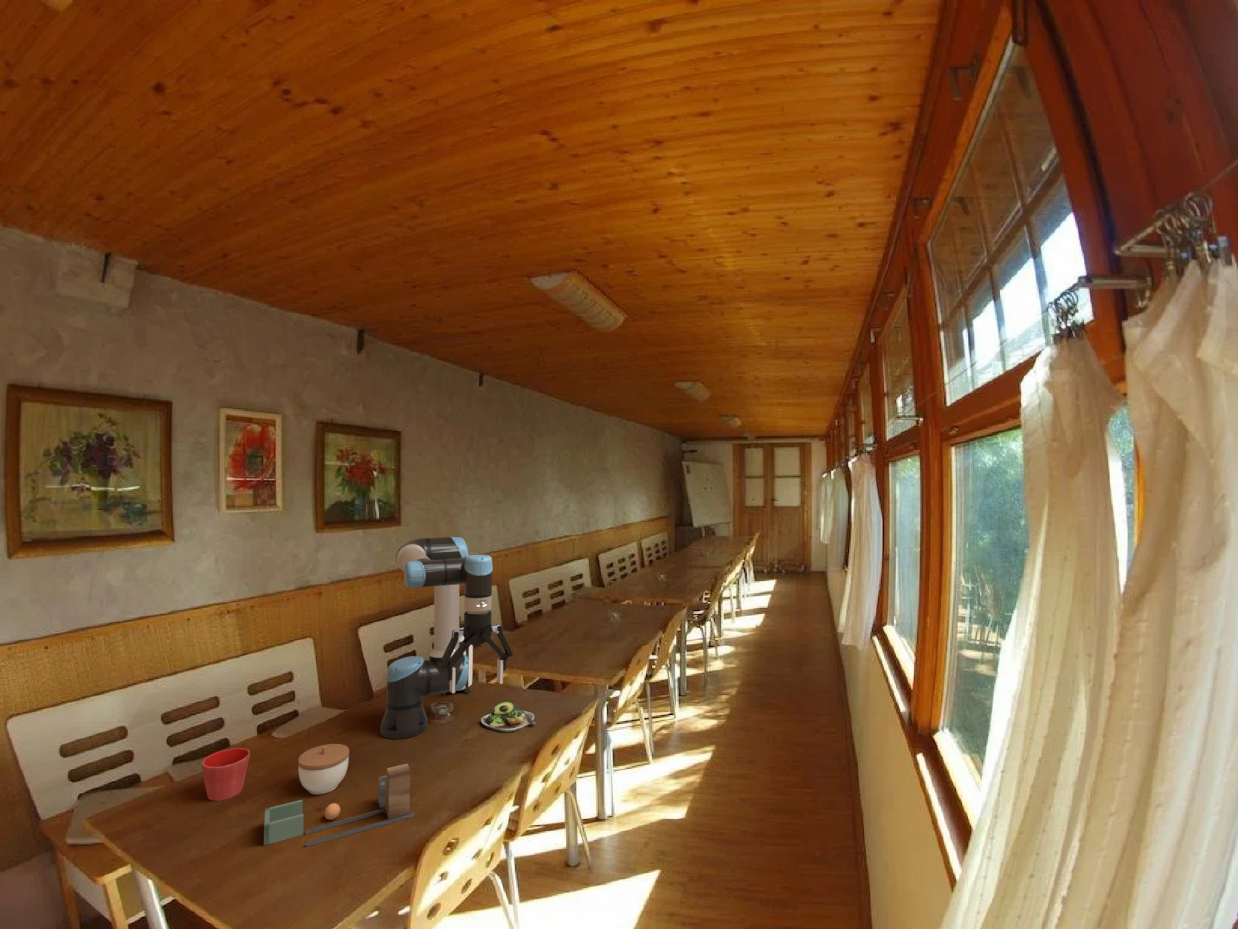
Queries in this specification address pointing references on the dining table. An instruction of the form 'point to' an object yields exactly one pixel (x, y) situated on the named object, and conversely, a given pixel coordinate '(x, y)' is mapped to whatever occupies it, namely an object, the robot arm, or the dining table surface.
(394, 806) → the brown boxy piece
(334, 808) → the brown egg
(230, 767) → the flower pot
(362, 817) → the guide rails
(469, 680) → the coffee press
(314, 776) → the lidded bowl
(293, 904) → the dining table surface
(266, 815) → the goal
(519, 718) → the avocado toast plate
